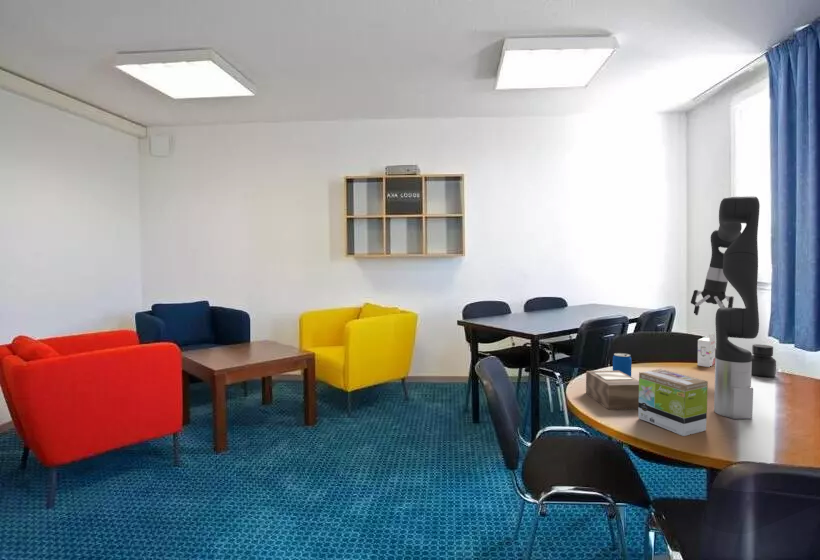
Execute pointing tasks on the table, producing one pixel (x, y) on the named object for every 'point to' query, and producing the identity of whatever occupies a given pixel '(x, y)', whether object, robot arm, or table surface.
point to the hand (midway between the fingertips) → (708, 317)
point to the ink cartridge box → (706, 351)
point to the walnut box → (613, 389)
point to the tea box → (673, 401)
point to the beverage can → (622, 363)
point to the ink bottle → (763, 361)
